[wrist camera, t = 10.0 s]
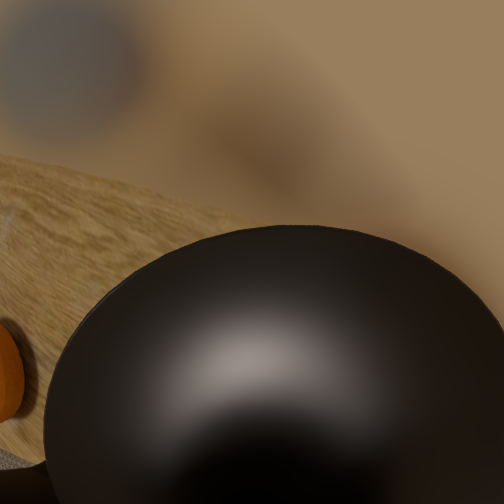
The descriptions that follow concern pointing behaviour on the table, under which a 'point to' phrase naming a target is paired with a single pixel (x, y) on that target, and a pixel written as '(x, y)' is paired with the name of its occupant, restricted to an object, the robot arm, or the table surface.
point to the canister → (281, 379)
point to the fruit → (10, 376)
